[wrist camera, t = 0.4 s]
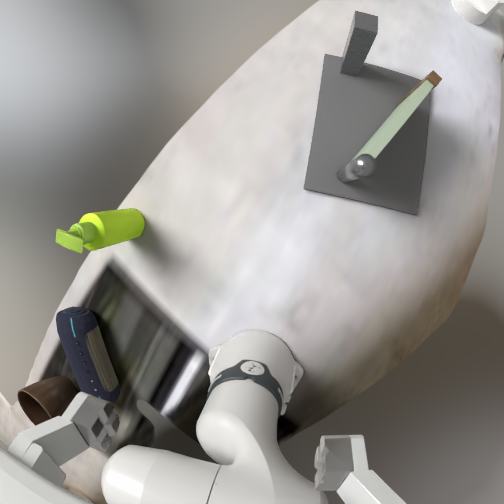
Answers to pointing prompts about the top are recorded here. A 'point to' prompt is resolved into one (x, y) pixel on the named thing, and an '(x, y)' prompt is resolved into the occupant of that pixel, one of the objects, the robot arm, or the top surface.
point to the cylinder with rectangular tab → (476, 9)
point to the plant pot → (47, 398)
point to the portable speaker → (87, 353)
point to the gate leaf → (400, 115)
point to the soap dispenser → (102, 230)
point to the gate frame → (366, 128)
